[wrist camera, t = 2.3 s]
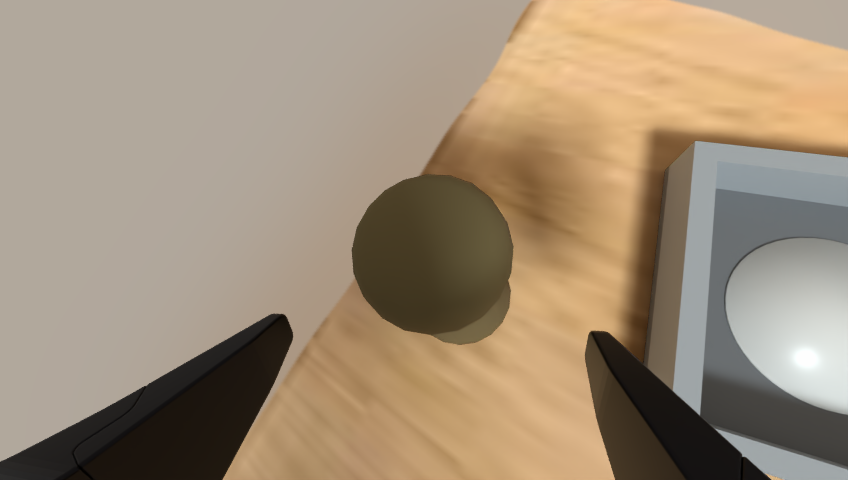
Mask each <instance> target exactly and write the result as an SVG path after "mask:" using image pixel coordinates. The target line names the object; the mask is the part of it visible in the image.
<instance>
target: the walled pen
mask: <svg viewBox="0 0 848 480" xmlns="http://www.w3.org/2000/svg"><path fill="white" fill-rule="evenodd" d="M643 364H644V365H645V366H646V367H647V368H648V369H649V370H650V371H652V372H653V373H654V374H655V375H656V376H657V377H658V378H659V379H660V380H662V381H663V382H664V383H665V384H666V385H667V386H668V387H669V388H670V389H671V390H673V391H674V392H675V393H676V394H677V395H678V396H679V397H680V398H681V399H683V400H684V401H685V402H686V403H687V404H688V405H689V406H690V407H691V408H692V409H694V410H695V411H696V412H697V413H698V414H699V415H700V416H701V417H702V418H703V419H705V420H706V421H707V422H708V423H709V424H710V425H711V426H712V427H713V428H715V429H716V430H717V431H718V432H719V433H720V434H721V435H722V436H723V437H724V438H726V439H727V440H728V441H729V442H730V443H731V444H732V445H733V446H734V447H736V448H737V449H738V450H739V451H740V452H741V453H742V457H747V458H748V459H749V460H750V461H751V462H752V463H753V464H755V465H756V466H757V467H758V468H759V469H760V470H761V471H762V472H763V473H766V474H769V475H772V476H775V477H778V478H781V479H784V480H848V157H839V156H830V155H820V154H811V153H802V152H793V151H784V150H775V149H766V148H756V147H747V146H738V145H729V144H720V143H711V142H702V141H695V142H693V143H692V144H691V145H690V146H689V147H688V148H687V149H686V150H685V151H684V152H683V153H682V154H681V155H680V156H679V157H678V158H677V159H676V160H675V161H674V162H673V163H672V164H671V165H670V166H669V167H668V168H667V169H666V170H665V175H664V184H663V193H662V202H661V211H660V220H659V229H658V238H657V247H656V256H655V265H654V274H653V283H652V292H651V301H650V309H649V318H648V327H647V336H646V345H645V354H644V363H643Z"/></svg>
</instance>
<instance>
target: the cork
mask: <svg viewBox="0 0 848 480" xmlns="http://www.w3.org/2000/svg"><path fill="white" fill-rule="evenodd" d="M512 257H513V243H512V239H511V235H510V231H509V227H508V223H507V221H506V220H505V218H504V217H503V215H502V214H501V212H500V211H499V209H498V208H497V206H496V205H495V203H494V202H493V200H492V199H491V198H490V197H489V196H488V195H486V194H485V193H484V192H482V191H481V190H480V189H479V188H477V187H476V186H475V185H474V184H472V183H469V182H467V181H464V180H461V179H458V178H456V177H453V176H449V175H429V174H427V175H423V176H419V177H414V178H410V179H406V180H403V181H401V182H399V183H397V184H396V185H394V186H392V187H390V188H389V189H387V190H385V191H384V192H383V193H382V194H381V195H380V196H379V197H378V198H377V199H376V200H375V201H374V202H373V203H372V204H371V205H370V206H369V207H368V209H367V211H366V212H365V214H364V216H363V218H362V219H361V221H360V223H359V225H358V227H357V229H356V234H355V238H354V243H353V247H352V259H353V272H354V275H355V278H356V280H357V282H358V285H359V287H360V290H361V292H362V294H363V296H364V298H365V299H366V300H367V302H368V303H369V304H370V305H371V306H372V307H373V308H374V309H375V311H376V312H377V313H378V314H379V315H380V316H381V317H382V318H383V319H385V320H387V321H388V322H390V323H392V324H394V325H396V326H397V327H399V328H401V329H403V330H406V331H411V332H417V333H423V334H429V335H432V336H434V337H436V338H438V339H439V340H441V341H443V342H447V343H453V344H458V345H462V344H468V343H475V342H478V341H480V340H482V339H484V338H485V337H487V336H489V335H491V334H492V333H493V332H494V331H495V330H496V329H497V328H498V327H499V325H500V324H501V323H502V322H503V320H504V318H505V315H506V313H507V311H508V309H509V304H510V292H511V290H510V286H509V282H508V279H509V277H510V274H511V268H512Z"/></svg>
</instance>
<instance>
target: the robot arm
mask: <svg viewBox="0 0 848 480" xmlns="http://www.w3.org/2000/svg"><path fill="white" fill-rule="evenodd" d="M292 340H293V332H292V329H291V327H290V324H289V322H288V319H287V317H286V316H285V315H284V314H271V315H269V316H267V317H265V318H263V319H262V320H260V321H259V322H256V323H255V324H253V325H251V326H250V327H248V328H246V329H244V330H242V331H241V332H239V333H237V334H235V335H234V336H232V337H230V338H228V339H227V340H225V341H223V342H221V343H220V344H218V345H216V346H214V347H213V348H211V349H209V350H207V351H206V352H204V353H202V354H200V355H198V356H197V357H195V358H193V359H191V360H190V361H188V362H186V363H184V364H183V365H181V366H179V367H177V368H176V369H174V370H172V371H170V372H169V373H167V374H165V375H163V376H162V377H160V378H158V379H156V380H155V381H153V382H151V383H149V384H148V385H147V386H144V387H142V388H141V389H139V390H137V391H136V392H133V393H132V394H130V395H128V396H126V397H125V398H123V399H121V400H119V401H117V402H116V403H114V404H112V405H110V406H108V407H106V408H105V409H103V410H101V411H99V412H97V413H95V414H93V415H91V416H89V417H87V418H86V419H84V420H82V421H80V422H78V423H76V424H74V425H72V426H70V427H68V428H66V429H64V430H62V431H60V432H59V433H57V434H55V435H53V436H51V437H49V438H47V439H45V440H43V441H41V442H39V443H37V444H35V445H33V446H31V447H29V448H27V449H26V450H24V451H21V452H20V453H18V454H16V455H14V456H11V457H9V458H7V459H6V460H3V461H1V462H0V480H223V478H224V476H225V474H226V472H227V470H228V468H229V467H230V465H231V463H232V461H233V459H234V457H235V455H236V454H237V452H238V450H239V448H240V446H241V444H242V442H243V441H244V439H245V437H246V435H247V433H248V431H249V429H250V428H251V426H252V424H253V422H254V420H255V418H256V416H257V415H258V413H259V411H260V409H261V407H262V405H263V403H264V402H265V400H266V398H267V396H268V394H269V392H270V390H271V388H272V386H273V384H274V382H275V380H276V378H277V376H278V373H279V371H280V368H281V366H282V364H283V361H284V359H285V357H286V354H287V352H288V350H289V347H290V345H291V343H292ZM585 362H586V367H587V372H588V378H589V383H590V388H591V393H592V398H593V403H594V409H595V413H596V418H597V422H598V426H599V429H600V432H601V436H602V439H603V442H604V445H605V448H606V452H607V455H608V458H609V461H610V464H611V468H612V471H613V474H614V477H615V480H771V479H770V478H769V477H768V476H767V475H766V474H764V473H763V472H762V471H761V470H760V469H759V468H758V467H757V466H756V465H755V464H753V463H752V462H751V461H750V460H749V459H748V458H747V457H742V453H741V452H740V451H739V450H738V449H737V448H736V447H734V446H733V445H732V444H731V443H730V442H729V441H728V440H727V439H726V438H724V437H723V436H722V435H721V434H720V433H719V432H718V431H717V430H716V429H715V428H713V427H712V426H711V425H710V424H709V423H708V422H707V421H706V420H705V419H703V418H702V417H701V416H700V415H699V414H698V413H697V412H696V411H695V410H694V409H692V408H691V407H690V406H689V405H688V404H687V403H686V402H685V401H684V400H683V399H681V398H680V397H679V396H678V395H677V394H676V393H675V392H674V391H673V390H671V389H670V388H669V387H668V386H667V385H666V384H665V383H664V382H663V381H662V380H660V379H659V378H658V377H657V376H656V375H655V374H654V373H653V372H652V371H650V370H649V369H648V368H647V367H646V366H645V365H644V364H643V363H642V362H641V361H639V360H638V359H637V358H636V357H635V356H634V355H633V354H632V353H631V352H629V351H628V350H627V349H626V348H625V347H624V346H623V345H622V344H621V343H620V342H618V341H617V340H616V339H615V338H614V337H613V336H612V335H611V334H610V333H608V332H605V331H591V332H590V333H589V335H588V340H587V346H586V351H585Z"/></svg>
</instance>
